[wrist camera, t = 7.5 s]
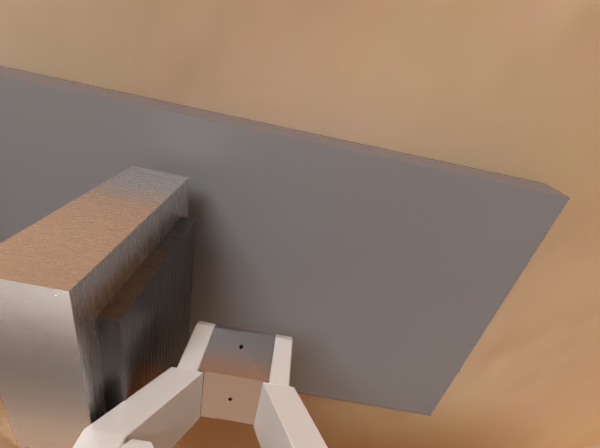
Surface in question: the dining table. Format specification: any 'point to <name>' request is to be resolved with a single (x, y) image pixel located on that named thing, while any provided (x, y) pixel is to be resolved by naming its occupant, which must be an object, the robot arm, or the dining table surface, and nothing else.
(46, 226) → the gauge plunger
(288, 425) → the robot arm
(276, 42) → the dining table surface
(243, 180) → the frame
